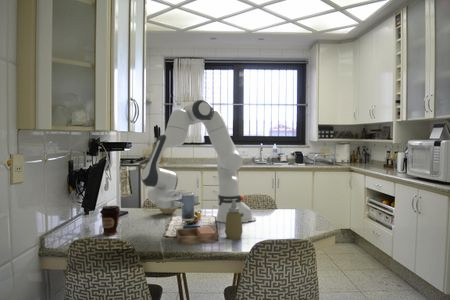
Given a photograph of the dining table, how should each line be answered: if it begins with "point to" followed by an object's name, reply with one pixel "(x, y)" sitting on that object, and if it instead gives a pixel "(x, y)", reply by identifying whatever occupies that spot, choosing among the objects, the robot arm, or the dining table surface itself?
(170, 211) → the fossilized egg
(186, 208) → the tin can
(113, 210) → the coffee cup
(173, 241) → the dining table surface
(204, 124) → the robot arm
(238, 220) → the squeeze bottle
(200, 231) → the pasta box
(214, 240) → the crate
